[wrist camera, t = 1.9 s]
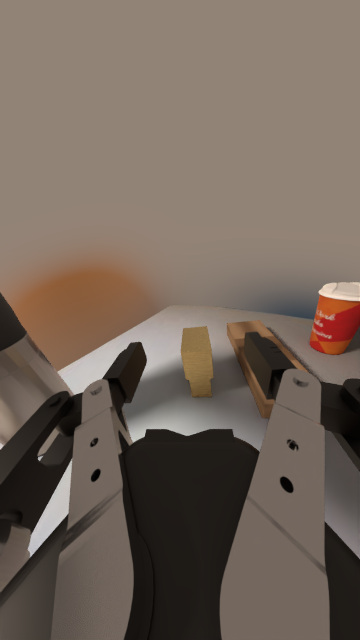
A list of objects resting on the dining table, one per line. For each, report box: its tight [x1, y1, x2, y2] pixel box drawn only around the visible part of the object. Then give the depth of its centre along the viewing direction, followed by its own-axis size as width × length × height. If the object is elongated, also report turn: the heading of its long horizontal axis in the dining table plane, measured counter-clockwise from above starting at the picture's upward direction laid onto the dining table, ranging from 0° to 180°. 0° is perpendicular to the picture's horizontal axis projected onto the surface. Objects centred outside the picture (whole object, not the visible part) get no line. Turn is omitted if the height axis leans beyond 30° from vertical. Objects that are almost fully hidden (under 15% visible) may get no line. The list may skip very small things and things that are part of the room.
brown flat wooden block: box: [227, 320, 309, 418], centre depth 31 cm, size 9×24×4 cm, turn 176°
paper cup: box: [310, 282, 360, 355], centre depth 29 cm, size 8×8×14 cm
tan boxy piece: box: [181, 326, 213, 397], centre depth 26 cm, size 5×7×11 cm, turn 176°
